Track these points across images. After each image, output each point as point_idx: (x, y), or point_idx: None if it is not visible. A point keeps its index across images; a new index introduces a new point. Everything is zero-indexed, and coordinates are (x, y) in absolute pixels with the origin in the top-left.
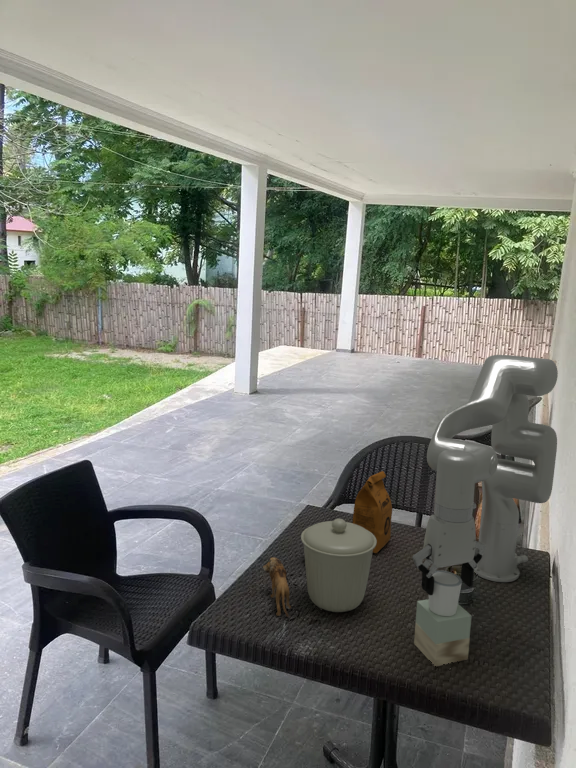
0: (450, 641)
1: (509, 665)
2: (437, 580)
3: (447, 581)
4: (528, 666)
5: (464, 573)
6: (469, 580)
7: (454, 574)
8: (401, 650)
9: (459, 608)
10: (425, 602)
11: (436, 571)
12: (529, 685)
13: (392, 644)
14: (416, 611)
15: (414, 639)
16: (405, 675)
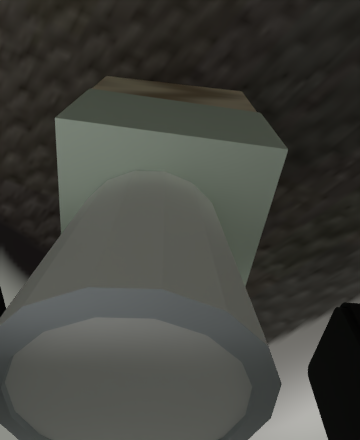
0: None
1: (299, 263)
2: (37, 404)
3: (116, 428)
4: (336, 280)
5: (355, 405)
6: (321, 417)
7: (256, 394)
8: (41, 92)
9: (235, 258)
10: (97, 152)
11: (125, 310)
12: (275, 317)
13: (22, 45)
14: (74, 102)
15: (103, 79)
16: (3, 193)
